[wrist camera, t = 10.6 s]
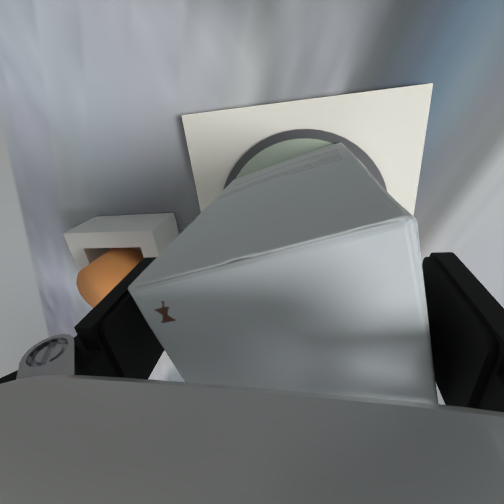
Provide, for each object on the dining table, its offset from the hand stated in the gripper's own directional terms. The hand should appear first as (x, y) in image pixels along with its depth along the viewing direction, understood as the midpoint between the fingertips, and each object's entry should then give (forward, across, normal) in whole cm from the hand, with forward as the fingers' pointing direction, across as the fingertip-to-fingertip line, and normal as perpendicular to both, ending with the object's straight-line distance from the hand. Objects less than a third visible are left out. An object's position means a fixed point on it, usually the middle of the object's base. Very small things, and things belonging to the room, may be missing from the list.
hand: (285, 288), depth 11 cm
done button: (+8, +13, +4) cm, 15 cm away
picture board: (+10, 0, +1) cm, 10 cm away
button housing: (+10, +13, +4) cm, 17 cm away
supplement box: (+10, 0, +1) cm, 10 cm away
